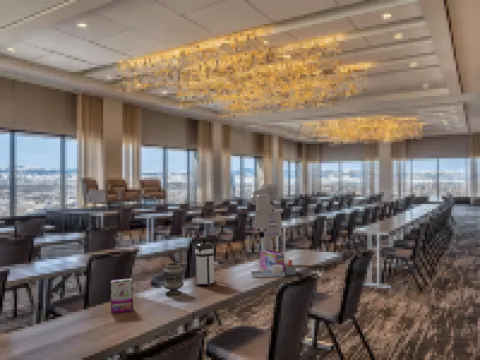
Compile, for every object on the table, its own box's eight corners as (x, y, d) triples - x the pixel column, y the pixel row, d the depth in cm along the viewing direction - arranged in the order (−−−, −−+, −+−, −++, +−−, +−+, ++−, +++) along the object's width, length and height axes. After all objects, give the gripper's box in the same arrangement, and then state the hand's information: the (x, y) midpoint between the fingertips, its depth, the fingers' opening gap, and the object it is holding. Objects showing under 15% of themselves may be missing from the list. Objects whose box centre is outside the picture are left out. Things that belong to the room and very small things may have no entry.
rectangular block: (251, 274, 287) (251, 270, 287) (282, 273, 288) (282, 269, 288) (252, 277, 277) (252, 273, 277) (285, 276, 278) (284, 272, 278)
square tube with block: (283, 271, 294) (283, 263, 294) (292, 271, 294) (292, 263, 294) (285, 275, 282) (285, 266, 282) (295, 274, 282) (295, 266, 282)
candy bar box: (133, 308, 212) (132, 277, 212) (133, 311, 207) (132, 280, 207) (111, 310, 209) (110, 279, 209) (110, 313, 204) (110, 281, 204)
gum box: (259, 267, 311) (258, 249, 312) (267, 266, 315) (267, 249, 315) (275, 272, 290) (275, 254, 291) (284, 271, 294) (284, 253, 294)
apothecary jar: (159, 295, 237) (159, 265, 237) (171, 290, 248) (170, 261, 248) (176, 297, 232) (176, 266, 232) (187, 292, 243) (187, 262, 243)
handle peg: (287, 273, 287) (287, 259, 288) (292, 273, 287) (291, 259, 287) (287, 274, 284) (287, 260, 284) (292, 274, 284) (291, 260, 284)
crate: (272, 273, 286) (272, 264, 286) (281, 273, 286) (281, 264, 286) (273, 276, 279) (273, 266, 279) (282, 275, 279) (282, 266, 279)
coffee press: (220, 285, 256) (220, 239, 257) (197, 288, 250) (196, 241, 251) (212, 279, 272) (212, 236, 273) (190, 282, 267) (189, 237, 267)
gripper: (251, 212, 278) (251, 238, 278) (272, 212, 279) (273, 238, 279) (250, 212, 286) (251, 237, 286) (271, 211, 286) (271, 236, 286)
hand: (262, 237), depth 282 cm, fingers closed
